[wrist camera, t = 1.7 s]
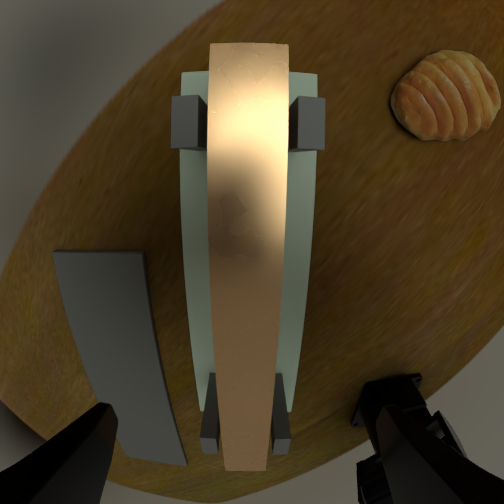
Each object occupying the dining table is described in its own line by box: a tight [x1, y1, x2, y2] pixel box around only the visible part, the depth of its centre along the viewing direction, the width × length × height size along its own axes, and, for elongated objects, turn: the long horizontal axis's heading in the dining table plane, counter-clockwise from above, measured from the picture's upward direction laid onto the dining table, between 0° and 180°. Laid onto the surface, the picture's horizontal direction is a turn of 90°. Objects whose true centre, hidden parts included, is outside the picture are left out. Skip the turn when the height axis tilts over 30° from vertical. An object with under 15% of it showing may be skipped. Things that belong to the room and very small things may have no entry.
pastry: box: [391, 50, 501, 141], centre depth 14 cm, size 9×7×4 cm
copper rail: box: [207, 43, 289, 471], centre depth 13 cm, size 24×3×3 cm, turn 179°
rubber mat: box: [52, 250, 188, 466], centre depth 23 cm, size 27×8×1 cm, turn 179°
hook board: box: [171, 71, 325, 455], centre depth 16 cm, size 26×8×8 cm, turn 179°
